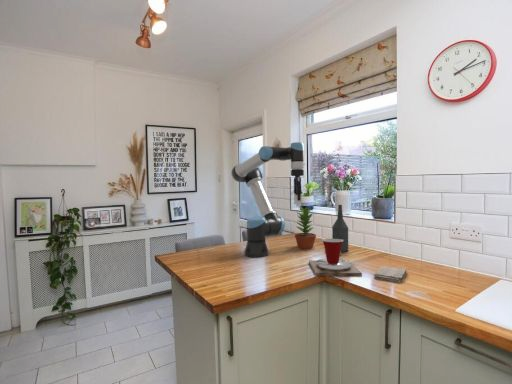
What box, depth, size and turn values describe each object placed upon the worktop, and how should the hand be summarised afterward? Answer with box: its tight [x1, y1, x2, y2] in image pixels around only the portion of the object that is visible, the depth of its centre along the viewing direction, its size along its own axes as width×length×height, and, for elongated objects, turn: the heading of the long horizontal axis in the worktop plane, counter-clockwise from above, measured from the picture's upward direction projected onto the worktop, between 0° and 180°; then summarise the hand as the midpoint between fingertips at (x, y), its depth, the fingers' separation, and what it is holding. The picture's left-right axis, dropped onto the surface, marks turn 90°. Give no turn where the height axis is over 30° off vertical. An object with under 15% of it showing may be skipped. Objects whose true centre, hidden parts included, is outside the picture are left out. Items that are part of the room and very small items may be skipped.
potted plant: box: [294, 204, 317, 250], centre depth 198 cm, size 15×15×30 cm
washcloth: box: [373, 265, 407, 284], centre depth 138 cm, size 12×18×3 cm, turn 146°
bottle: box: [331, 204, 349, 253], centre depth 189 cm, size 10×10×30 cm
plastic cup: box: [321, 238, 343, 264], centre depth 150 cm, size 11×11×12 cm
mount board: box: [308, 257, 363, 277], centre depth 149 cm, size 22×22×4 cm
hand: (297, 205), depth 170 cm, fingers open, 13 cm apart
